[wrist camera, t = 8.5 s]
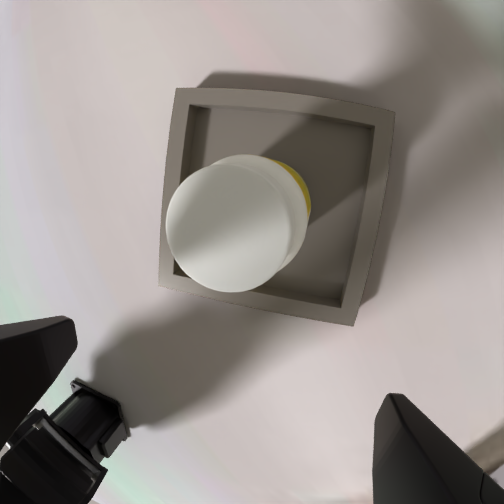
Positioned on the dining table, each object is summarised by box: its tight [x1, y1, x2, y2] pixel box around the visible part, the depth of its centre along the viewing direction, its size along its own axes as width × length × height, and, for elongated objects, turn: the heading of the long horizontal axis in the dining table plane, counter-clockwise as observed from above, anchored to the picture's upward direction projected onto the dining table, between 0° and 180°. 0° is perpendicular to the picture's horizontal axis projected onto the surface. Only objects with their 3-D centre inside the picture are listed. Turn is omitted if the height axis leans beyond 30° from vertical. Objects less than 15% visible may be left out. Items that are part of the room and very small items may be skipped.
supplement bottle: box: [166, 154, 311, 292], centre depth 13 cm, size 5×5×8 cm
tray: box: [158, 88, 395, 326], centre depth 17 cm, size 12×12×2 cm
